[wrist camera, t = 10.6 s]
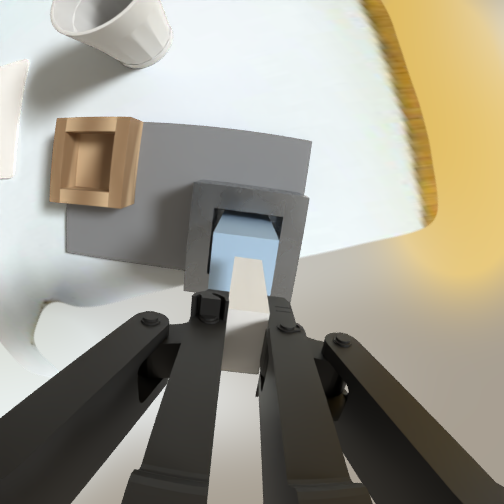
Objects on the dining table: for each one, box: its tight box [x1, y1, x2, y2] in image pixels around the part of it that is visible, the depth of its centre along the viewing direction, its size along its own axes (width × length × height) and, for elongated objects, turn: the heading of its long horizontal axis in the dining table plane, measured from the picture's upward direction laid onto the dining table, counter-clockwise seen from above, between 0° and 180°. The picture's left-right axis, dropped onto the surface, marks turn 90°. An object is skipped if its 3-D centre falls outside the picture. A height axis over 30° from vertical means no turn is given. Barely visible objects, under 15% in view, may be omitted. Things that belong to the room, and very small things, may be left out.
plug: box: [208, 210, 279, 296], centre depth 24 cm, size 4×4×10 cm
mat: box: [67, 122, 312, 270], centre depth 29 cm, size 24×14×1 cm, turn 82°
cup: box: [50, 0, 173, 69], centre depth 19 cm, size 8×8×12 cm
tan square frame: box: [49, 117, 143, 209], centre depth 26 cm, size 8×8×4 cm
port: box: [184, 179, 309, 302], centre depth 27 cm, size 9×9×5 cm
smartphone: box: [0, 59, 30, 179], centre depth 26 cm, size 7×1×15 cm
